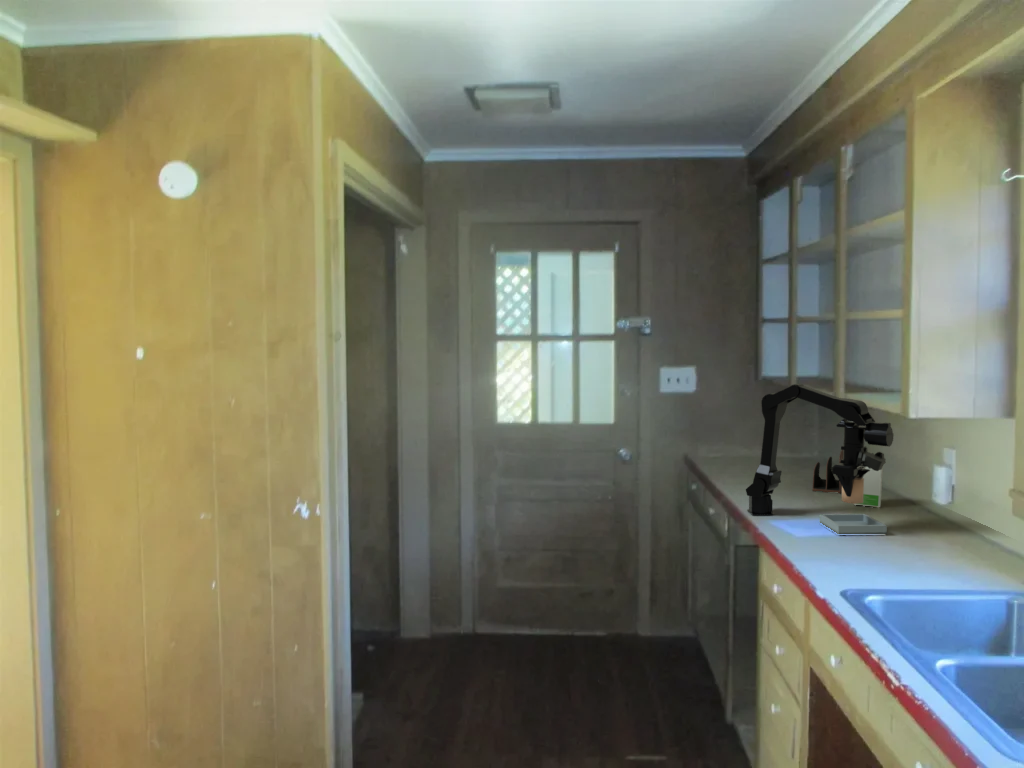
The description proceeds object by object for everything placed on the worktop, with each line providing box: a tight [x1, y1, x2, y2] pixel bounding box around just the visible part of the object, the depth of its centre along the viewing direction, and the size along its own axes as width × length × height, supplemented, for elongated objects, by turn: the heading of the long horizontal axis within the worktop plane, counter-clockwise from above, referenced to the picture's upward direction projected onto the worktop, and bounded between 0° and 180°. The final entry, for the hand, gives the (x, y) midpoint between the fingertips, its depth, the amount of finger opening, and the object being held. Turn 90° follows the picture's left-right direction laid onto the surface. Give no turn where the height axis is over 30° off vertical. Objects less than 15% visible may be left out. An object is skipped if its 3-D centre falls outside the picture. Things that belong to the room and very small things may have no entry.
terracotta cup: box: [841, 477, 864, 505], centre depth 234 cm, size 6×6×7 cm
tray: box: [818, 513, 888, 535], centre depth 235 cm, size 14×14×3 cm
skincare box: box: [853, 466, 884, 508], centre depth 265 cm, size 8×7×16 cm
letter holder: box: [811, 450, 843, 494], centre depth 295 cm, size 10×20×14 cm, turn 154°
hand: (852, 494), depth 234 cm, fingers closed on terracotta cup, 6 cm apart
